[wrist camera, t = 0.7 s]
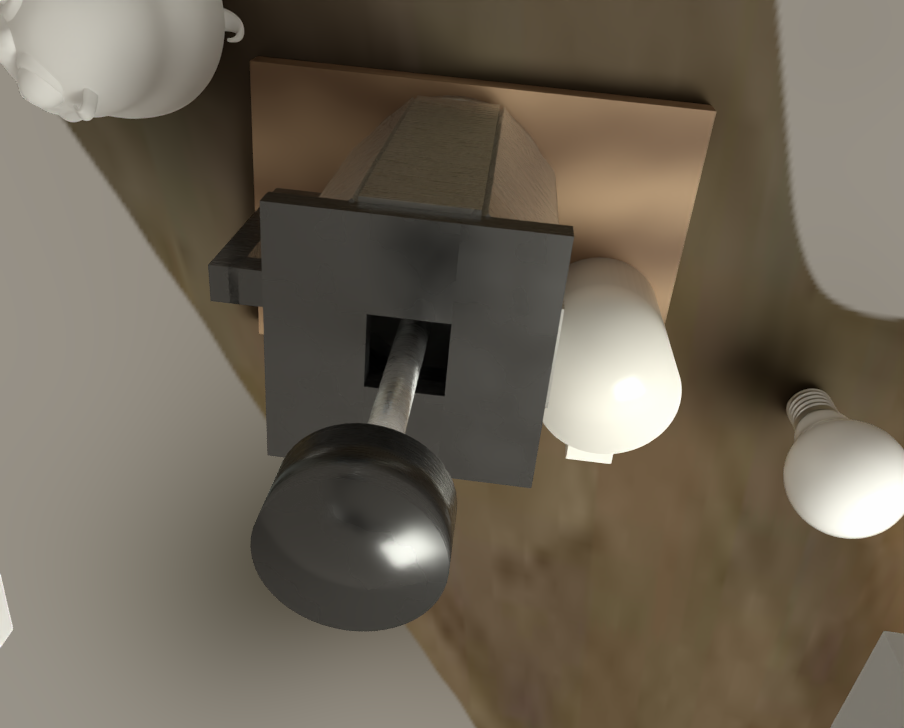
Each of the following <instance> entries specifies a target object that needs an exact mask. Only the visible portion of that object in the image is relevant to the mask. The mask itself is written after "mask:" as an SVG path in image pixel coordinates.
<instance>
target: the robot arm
mask: <svg viewBox="0 0 904 728" xmlns="http://www.w3.org/2000/svg"><path fill="white" fill-rule="evenodd" d="M12 630H13V626H12V621H11V617H10V613H9V609H8V604H7V600H6V596H5V591H4V587H3V583H2V579H1V574H0V647H1V646H2V645H3V643H4V641H5V640H6V639H7V637H8V636H9V634H10V633H11V632H12ZM831 728H904V634H901V633H894V632H888V631H884V632H883V633H882V635H881V637H880V639H879V641H878V642H877V644H876V646H875V648H874V650H873V651H872V653H871V655H870V657H869V659H868V661H867V662H866V664H865V666H864V668H863V670H862V671H861V673H860V675H859V677H858V679H857V680H856V682H855V684H854V686H853V688H852V690H851V691H850V693H849V695H848V697H847V699H846V700H845V702H844V704H843V706H842V708H841V709H840V711H839V713H838V715H837V717H836V718H835V720H834V722H833V724H832V726H831Z"/></svg>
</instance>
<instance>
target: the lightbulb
mask: <svg viewBox="0 0 904 728" xmlns="http://www.w3.org/2000/svg"><path fill="white" fill-rule="evenodd" d="M786 413H787V416H788V418H789V420H790V422H791V424H792V426H793V428H794V430H795V434H794V443H793V445H792V447H791V448H790V450H789V452H788V454H787V457H786V460H785V464H784V470H783V481H784V487H785V491H786V494H787V497H788V499H789V501H790V503H791V505H792V506H793V508H794V509H795V511H796V512H797V513H798V514H799V515H800V517H801V518H802V519H803V520H805V521H806V522H807V523H808V524H810V525H811V526H812V527H814V528H816V529H817V530H819V531H821V532H823V533H826V534H828V535H831V536H835V537H840V538H848V539H858V538H866V537H870V536H874V535H877V534H879V533H881V532H883V531H885V530H887V529H889V528H890V527H892V526H893V525H894V524H895V523H896V522H898V521H899V520H900V518H901V517H902V516H903V515H904V449H903V448H902V447H901V445H900V444H899V443H898V442H897V441H896V440H895V439H894V438H893V437H892V436H891V435H889V434H888V433H887V432H885V431H884V430H882V429H880V428H878V427H876V426H874V425H872V424H869V423H866V422H863V421H859V420H853V419H848V418H847V417H846V416H844V415H843V414H841V413H839V412H838V410H837V408H836V406H835V405H834V403H833V402H832V400H831V398H830V396H829V395H828V394H827V393H826V392H824V391H822V390H820V389H814V388H811V389H805V390H802V391H799V392H797V393H796V394H794V395H793V396H792V397H791V398H790V400H789V401H788V403H787V406H786Z"/></svg>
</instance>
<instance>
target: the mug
mask: <svg viewBox="0 0 904 728" xmlns="http://www.w3.org/2000/svg"><path fill="white" fill-rule="evenodd" d="M564 307H565V310H564V316H563V322H562V327H561V333H560V339H559V345H558V351H557V356H556V362H555V368H554V374H553V380H552V385H551V391H550V397H549V403H548V408H545V410H544V416H543V423H544V424H545V426H546V427H547V428H548V429H549V431H550V432H551V433H552V434H553V435H554V436H555V437H557V438H558V439H559V440H561V441H562V442H564V443H565V450H566V458H567V459H575V460H583V461H591V462H599V463H607V464H611V461H612V457H613V454H615V453H623V452H627V451H631V450H634V449H636V448H639V447H641V446H643V445H645V444H647V443H649V442H651V441H652V440H654V439H655V438H656V437H658V436H659V435H660V434H661V433H662V432H663V431H664V430H665V429H666V428H667V427H668V426H669V425H670V423H671V422H672V420H673V419H674V417H675V415H676V413H677V411H678V408H679V405H680V401H681V392H682V387H681V380H680V376H679V373H678V369H677V366H676V363H675V359H674V356H673V353H672V349H671V346H670V342H669V339H668V336H667V332H666V329H665V325H664V322H663V319H662V315H661V312H660V309H659V305H658V302H657V298H656V295H655V292H654V290H653V288H652V286H651V284H650V283H649V281H648V280H647V279H646V277H645V276H644V275H643V274H642V273H641V272H639V271H638V270H637V269H636V268H634V267H632V266H631V265H629V264H627V263H625V262H622V261H619V260H616V259H610V258H588V259H583V260H580V261H576V262H574V263H571V264H569V270H568V276H567V281H566V287H565V293H564Z"/></svg>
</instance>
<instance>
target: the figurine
mask: <svg viewBox="0 0 904 728" xmlns="http://www.w3.org/2000/svg"><path fill="white" fill-rule="evenodd" d="M225 31H230V32H234V33H236V36H235V37H233V38H227V41H228V42H239V41H241V40H242V38H243V36H244V26H243V23H242V21H241V20H240V18H239V17H238V16H237V15H235V14H234V13H233V12H231V11H229V10H227V9H225V8H223V3H222V0H0V63H1V65H2V66H3V67H4V68H5V69H6V71H7V72H8V73H9V74H10V75H11V76H12V78H13V79H14V80H15V81H16V82H17V85H18V89H19V93H20V94H21V96H22V97H23V99H26V100H27V101H28V102H30V103H31V104H33V105H35V106H37V107H40V108H41V109H43V110H44V111H46V112H48V113H51V114H56V115H59V116H60V117H62V118H63V119H65V120H66V121H69V122H78V121H81V120H85V121H89V120H91V119H92V118H93V117H104V116H112V117H118V118H128V119H140V118H151V117H157V116H162V115H166V114H169V113H172V112H175V111H177V110H179V109H181V108H183V107H185V106H186V105H188V104H189V103H191V102H192V101H193V100H194V99H195V98H197V97H198V96H199V95H200V94H201V93H202V91H203V90H204V89H205V88H206V86H207V85H208V84H209V82H210V80H211V79H212V77H213V75H214V73H215V71H216V69H217V66H218V64H219V61H220V58H221V54H222V49H223V44H224V34H225Z"/></svg>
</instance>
